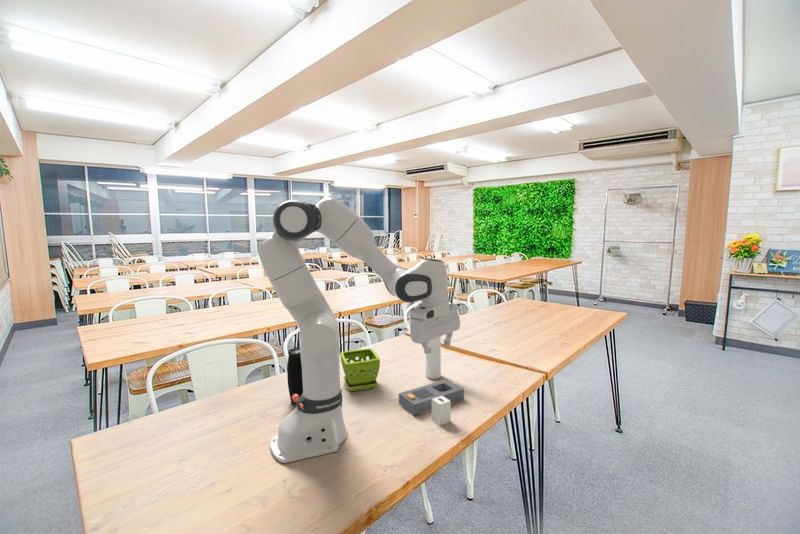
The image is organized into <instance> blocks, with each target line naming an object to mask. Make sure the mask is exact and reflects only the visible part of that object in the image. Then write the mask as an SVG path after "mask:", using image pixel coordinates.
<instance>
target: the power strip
mask: <svg viewBox="0 0 800 534" xmlns="http://www.w3.org/2000/svg"><path fill="white" fill-rule="evenodd" d="M440 396H443V397H445V398H447V399H448V400H450V401H451V404H454V403H457V402H460V401H463V400H465V389H464V388H463V387H461V386H459V385H458V384H456V383H454V382H452V381H451V380H449V379H447V378H446V379H443V380H440V381H437V382H433V383H430V384H429V383H428V384H425V385H423V386H419V387H416V388H412V389H409V390H405V391H402V392H398V405H400V406H401V407H402V408H404V409H405V410H406V411H408V412H409V413H410V414H411V415H413V416H414V417H415V416H418V414H419V415H422V414H425V413H426V412H431V411H432V399H433V398H437V397H440ZM421 413H422V414H421Z"/></svg>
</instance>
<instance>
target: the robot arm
mask: <svg viewBox="0 0 800 534" xmlns="http://www.w3.org/2000/svg"><path fill="white" fill-rule="evenodd" d="M272 222H273V223H272V224H273V226H274V232H273V233H272V235H270V236H269V237H267V238H265V239H264V240H262V242H261V243H260V244H259V246H258V250H257V252H258V253H257V254H258V257H259V261H260V263H261V266H262V268H263V270H264V272H265V275H266V277H267V279H268V280H269V282H270V284H271V286H272V288H273V289H274V291H275V293H276V295H277V297H278V299H279V300H280V303H281V304H282V305H283V307H284V308H285V309H286V310H287V311H288V313H289V314H290V315H291V317H292V318H293V320H294V321H295V323H296V324H297V326H298V329H299V334H298V339H299V340H298V341H299V347H300V355H301V365H302V381H303V393H302V395H301V396H300V397H299V396H298V394H294V395H293V396H292V399H293V401H294V402H297V405H296V407H295V408H294V409H293V410H292V411H291V412H290V413H289V414H287V416H285V417H284V418H283V419H282V420H281V422H280V423H279V425H278V430H277V431H278V432H277V434H275V435H274V436H273V437H272V438H271V439H270V443H269V445H270V446H269V447H270V452H271V454H272V456H273V457H274V459H275V460H276V461H278V462H280V463H283V464H287V463H291V462H295V461H300V460H304V459H305V460H306V459H308V458H309V459H310V458H313V457H318V456H322V455H327V454H331V453H332V454H333V453H335V452H337V451H338V450H339V448H340V445H341V444H342V443H343V442H344V441H345V440H346V438H347V437H348V429H347V428H346V424H345V421H344V417H343V416H344V415H343V410H342V409H343V408H342V407H343V390H342V389H341V376H340V375H341V372H340V370H341V369H340V332H339V325H338V321H337V318H336V317H337V316H336V315H335V313H334V312H333V310H332V308H331V307H330V305H329V302H328V301H327V300H326V298H325V296H324V294H323V293H322V291H321V290H320V288H319V286H318V284H317V283H316V280H315V279H314V276H313V275H312V273H311V272H310V270H309V268H308V265H307V264H306V262H305V260H304V258H303V256H302V254H301V252H300V249H299V243H300V242H301V241H302V240H303V239H305V238H307V237H308V236H310V235H311V234H313V233H314V232H316V233H319V234H321V235H323V236H324V237H325V238H327V239H328V240H329V241H330V242H331V243H333V245H334V246H336V247H337V248H338V249H340V250H341V251H342V252H344V253H345V254H347V255H348V256H351V257H352V258H354V259H357V260H359V261H361V262H363V263H365V264H366V265H367V266H368V267H369V268H370V269H371V270H372V271H373V272H375V273H376V274H377V275H378V276H379V277H380V279H382V281H383V283H384V285H385V288H386V290H387V291H388V293H389V294H390V295H392V296H394V297H396V298H397V299H399V300H401V301H402V302H405V303H413V302H418V301H420V300H421V302H420V303H419V304H418V305H416V306H415V307H414V308H413V309H412V310H410V312H409V315H410V317H411V318H412V319H411V320H410V325H409V326H410V328H409V329H410V331H409V332H410V340H411V341H412V342H413V343H416V344H418V345H421V347H422V348H423V352H424V354H429V353H431V348H430V347H428V345H427V344H428V341H429V340H432V339H434V338H437V337H440V336H441V337H442V336H445V338H444V340H443V345H444V346H445V347H448V346H451V343H452V342H451V341H452V338H453V334H454V333H453V332H455V331H458V330H460V327H461V321H460V315H459V314H460V313H459V311H458V306H457V305H456V304H455V303H453V302H451V303H450V300H449V299H450V298H449V297H450V296H449V295H448V294H449V293H448V287H449V281H448V279H449V278H448V273H447V267H446V263H445V262H444V261H443V260H441V259H436V258H430V257H429V258H427V257H426V258H422V259H420V261H419V262H418V263H417V264H414V266H412V267H410V268H408V269H407V268H405V267H402V266H399V265H396V264H395V263H394V262H393V261H392V260H390V258H388V256H386V254H384V252H383V251H381V250H380V249H379V247H378V246H377V243H376V240H375V235H374V232H373V230H372V229H371V228H370V226H369V225H368V224H367V223H366V222H365V220H363V219H362V217H360V216H359V215H358V214H357V212H355V211H353V209H351V208H350V207H348V206H347V205H346V204H345V203H343V202H342V201H340V200H338V199H337V198H335V197H331V196H329V197H324V198H322V199H321V200H319V201H318V202H317V203H316V204H313V203H309V202H305V201H302V200H298V199H297V200H296V199H289V200H285V201H284V202H281V203H280V204H279V205H278V206H277V207H276V209H275V210H274V213H273V217H272Z"/></svg>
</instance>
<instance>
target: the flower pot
mask: <svg viewBox="0 0 800 534" xmlns="http://www.w3.org/2000/svg"><path fill="white" fill-rule="evenodd" d="M339 356H340V362H341V366H342V369H343V372H344V375H343V380H344V383H345V385H346V387H347V389H348V391H350V392H356V391H362V390H363V391H365V390H369V389H375V388H376V387H377V386H378V381H377V378H378V375H379V371H380V364H381V359H380V357H379V355H378V354H377V352H376V351H375V350H374V348H371V347H369V348H361V349H354V350H346V351H342V352H339ZM367 358H368V359H367ZM351 361H352V362H351Z"/></svg>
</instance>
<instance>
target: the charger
mask: <svg viewBox="0 0 800 534" xmlns="http://www.w3.org/2000/svg"><path fill="white" fill-rule="evenodd" d="M451 404H452V403H451V401H450V400H448V399H447V398H445V397H443V396H440V397H437V398H433V399H432V410H431V420H432V421H433V422H435V423H436V424H437V425H439V426H441V425H444V424H447V423H450V422H451V417H452V416H451V415H452V413H451V409H452V407H451Z"/></svg>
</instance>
